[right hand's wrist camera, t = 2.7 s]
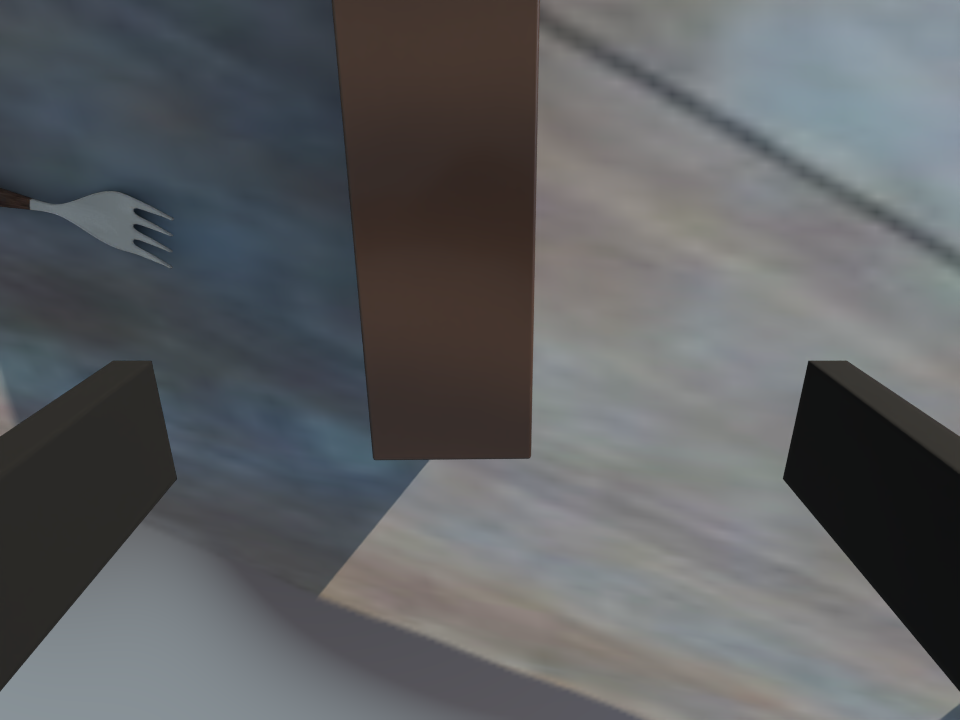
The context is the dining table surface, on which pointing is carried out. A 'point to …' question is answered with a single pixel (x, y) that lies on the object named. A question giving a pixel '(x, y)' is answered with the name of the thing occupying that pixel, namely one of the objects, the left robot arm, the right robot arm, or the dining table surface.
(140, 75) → the dining table surface
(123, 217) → the fork
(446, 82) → the walnut box
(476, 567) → the dining table surface
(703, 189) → the dining table surface
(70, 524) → the right robot arm
